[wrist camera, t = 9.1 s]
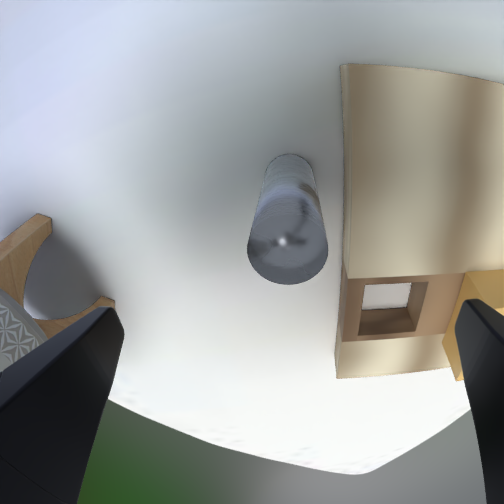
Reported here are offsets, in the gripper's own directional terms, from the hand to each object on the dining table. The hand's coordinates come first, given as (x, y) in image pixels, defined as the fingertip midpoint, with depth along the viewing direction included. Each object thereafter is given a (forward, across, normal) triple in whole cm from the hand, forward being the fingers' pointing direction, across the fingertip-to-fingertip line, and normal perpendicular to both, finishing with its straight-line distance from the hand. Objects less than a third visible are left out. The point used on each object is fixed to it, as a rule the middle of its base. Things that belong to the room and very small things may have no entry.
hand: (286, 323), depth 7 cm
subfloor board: (+11, -10, +4) cm, 16 cm away
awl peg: (+11, 0, 0) cm, 11 cm away
